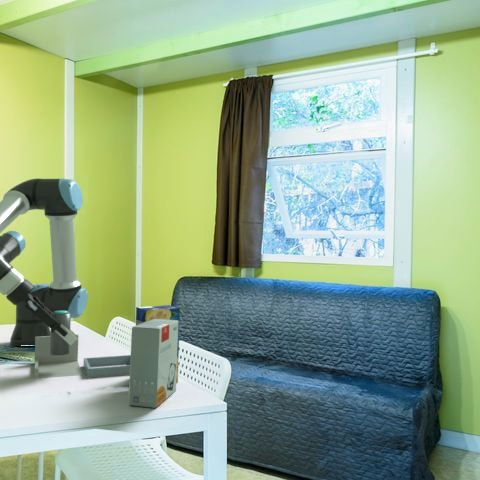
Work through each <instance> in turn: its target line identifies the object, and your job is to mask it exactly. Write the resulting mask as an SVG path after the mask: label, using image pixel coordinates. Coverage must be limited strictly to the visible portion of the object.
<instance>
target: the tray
mask: <svg viewBox="0 0 480 480" xmlns="http://www.w3.org/2000/svg"><path fill="white" fill-rule="evenodd" d="M130 359H131V354H127V355H125V354H123V355H111V356H97V357H84V358H83V368H84V371H85V373H86V376H87V378H88V379H91V378H93V379H94V378H104V377H114V376H126V375H130ZM114 365H115V366H114ZM99 366H100V367H99Z"/></svg>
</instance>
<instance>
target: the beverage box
mask: <svg viewBox="0 0 480 480" xmlns="http://www.w3.org/2000/svg"><path fill="white" fill-rule="evenodd" d="M135 307H136V309H135V311H136V312H135V326H136V325H139V324H142V323H145V322H147V321H150V320H153V319H165V320H178V346H177V374H176V383H178V382H179V359H180V358H179V357H180V356H179V355H180V352H179V351H180V319H181V318H180V317H181V313H180V312H181V311H180V310H181V308H180V307H178V306H173V305H171V304H168V305H167V304H166V305H152V306H151V305H150V306H135Z"/></svg>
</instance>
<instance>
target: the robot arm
mask: <svg viewBox="0 0 480 480" xmlns="http://www.w3.org/2000/svg"><path fill="white" fill-rule="evenodd" d="M83 201H84V199H83V192H82V190H81V187H80V185H79V184H78V183H77V181H75V180H74V179H69V178H31V179H28V180H24V181H23V182H21V183H19V184H17V185H15V186H13V187H12V188H10V189H9V190H8V191H7V192H5V193H4V195H3V198H2V199H1V200H0V234H1V233H2V232H3V231H4V230H6V228H8V227H9V226H10V225H11V223H12V222H14V221H15V220H16V219H17V218H18V217H19V216H20V215H21V216H22V215H24V214H27V212H29V211H34V210H41V211H44V216H45V217H46V218H47V219H48V220H49V233H50V234H49V235H50V248H51V250H50V251H51V265H52V277H53V278H52V280H53V281H51V283H50V284H49V283H38V284H33V283H32V282H30V281H29V280H28V279H27V278H26V279H24V277H25V276H24V275H23V274H22V273H20V272H19V270H18V269H17V268H16V267H14V266H12V264H11V263H12V262H13V260H15V259H16V258H17V257H18V256H20V255H21V253H22V251H24V250H25V248H26V246H27V245H26V244H27V243H26V239H25V237H24V236H23V235H22V234H21V233H20V232H18V231H16V230H9V231H6V232H4V233H3V234H1V235H0V294H2V295H3V296H5V298H6V299H7V300H8V301H9V302H10V303H11V304H12V305H14V306H15V326H14V329H13V331H12V334H11V337H10V343H9V345H10V346H13V347H16V346H21V345H35V337H40V336H51V332H52V333H53V332H54V331H55V332H56V333H57V334H58V335H59V336H61V337H62V338H63V339H64V340H65V341H66V342H67V343H68V344H69V345H72V344H73V343H74V342H75V341H76V340H77V338H76V337H75V335H77V334H76V333H75V332H74V331H73V330H72V329H71V328H70V331H69V330H68V329H67V328H65V327H64V326H63V325H62V324H60V323H59V322H58V321H57V320H56V319H55V318H54V317H53V316H52V315H51V313H54V311H68V312H69V313H71V319H77V318H80V317H81V316H82V315H83V314H84V312H85V311H86V307H87V304H88V291H87V289H86V288H84V287H82V282H81V281H80V280H79V279H78V277H77V275H78V274H77V261H76V260H77V259H76V258H77V256H76V241H75V240H76V239H75V224H74V223H75V220H74V219H75V217H76V216H78V211H80V210H81V209H82V206H83ZM51 330H52V331H51Z"/></svg>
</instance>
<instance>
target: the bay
mask: <svg viewBox="0 0 480 480" xmlns="http://www.w3.org/2000/svg"><path fill="white" fill-rule="evenodd" d="M75 337H76V338H77V340H76V341H75V342H74V343H73V344H72V345H70V353H69V354H66V355H51V354H50V336H40V337H35V347H34V380H35V379H46V378H59V377H60V378H61V377H71V376H73V377H74V376H83V373H82V369H81V367H80V364H79V360H78V359H79V356H78V355H79V334H76V335H75Z"/></svg>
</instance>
